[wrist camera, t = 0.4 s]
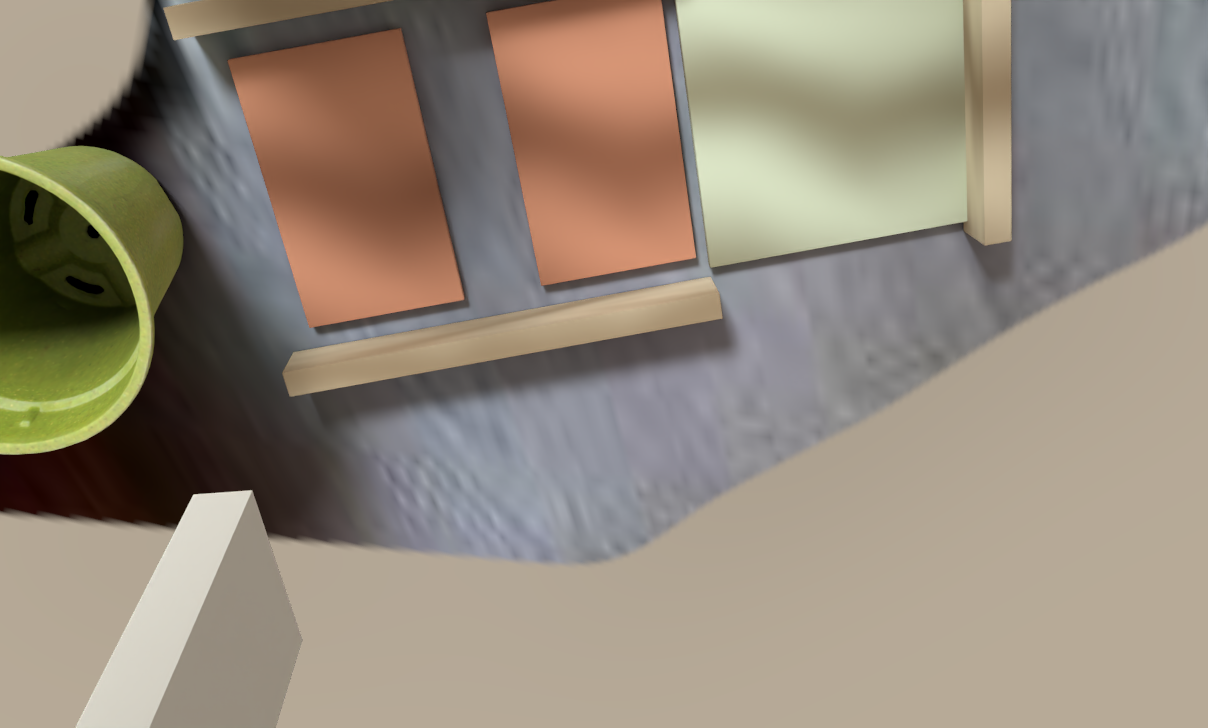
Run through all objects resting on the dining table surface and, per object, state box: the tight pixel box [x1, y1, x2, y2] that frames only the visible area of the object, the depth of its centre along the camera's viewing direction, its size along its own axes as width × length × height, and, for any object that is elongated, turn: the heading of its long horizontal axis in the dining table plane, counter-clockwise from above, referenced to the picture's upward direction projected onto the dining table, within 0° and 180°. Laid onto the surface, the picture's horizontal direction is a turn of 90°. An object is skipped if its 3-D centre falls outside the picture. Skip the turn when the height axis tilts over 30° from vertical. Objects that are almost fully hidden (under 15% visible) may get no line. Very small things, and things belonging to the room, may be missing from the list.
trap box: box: [164, 0, 1011, 397], centre depth 36 cm, size 14×28×2 cm, turn 100°
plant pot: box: [0, 146, 183, 454], centre depth 33 cm, size 9×9×9 cm
